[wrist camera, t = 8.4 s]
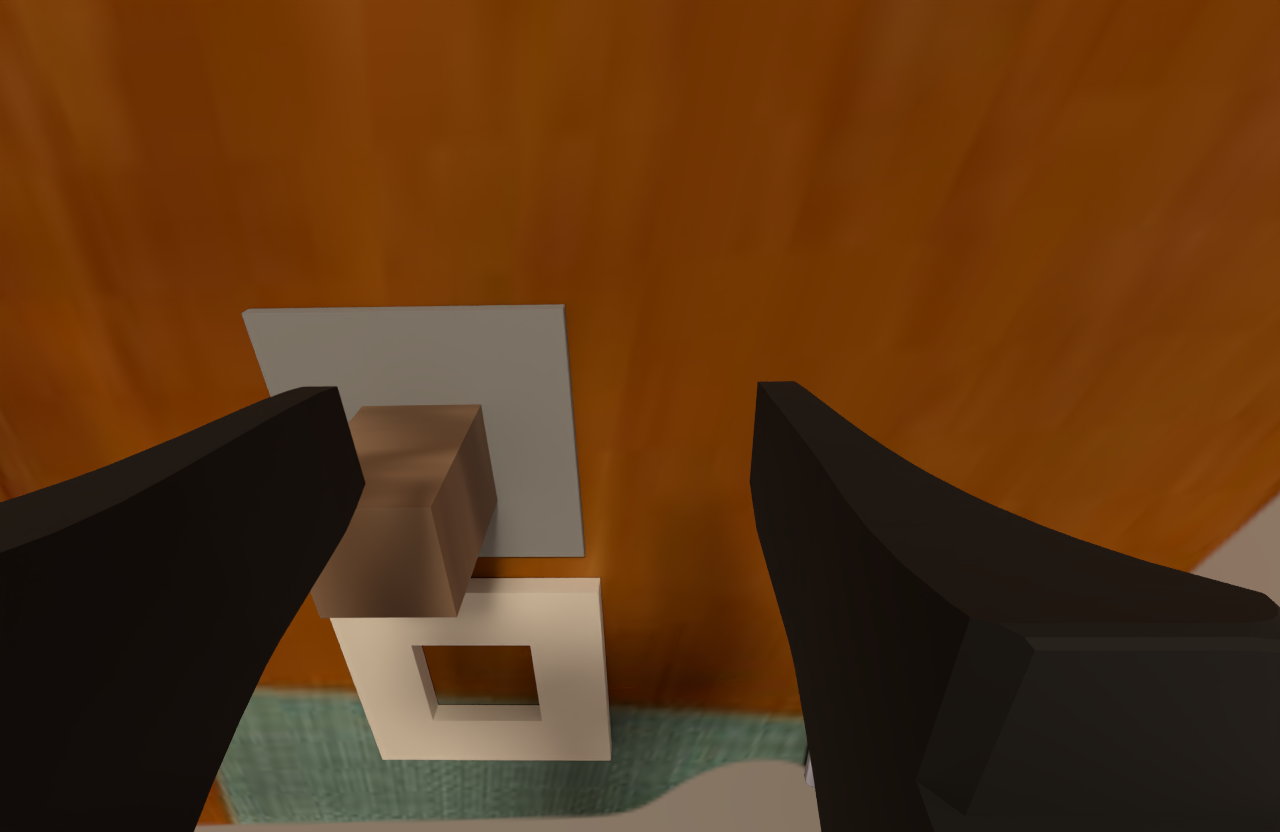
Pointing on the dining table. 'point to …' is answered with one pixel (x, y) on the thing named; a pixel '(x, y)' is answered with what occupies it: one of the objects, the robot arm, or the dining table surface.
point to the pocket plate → (553, 730)
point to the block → (412, 514)
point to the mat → (454, 394)
